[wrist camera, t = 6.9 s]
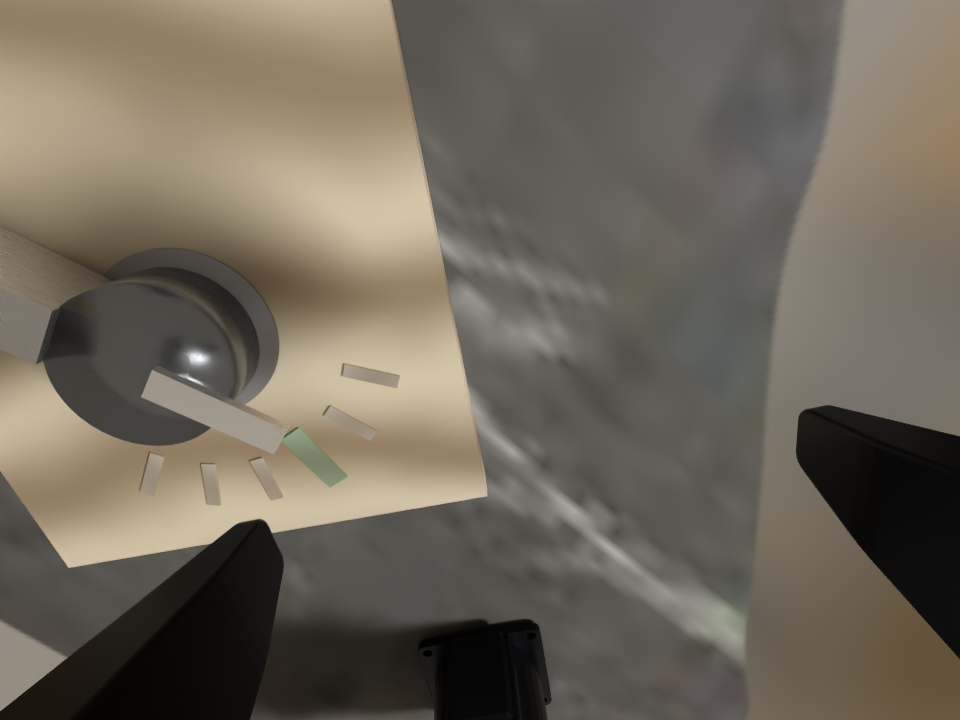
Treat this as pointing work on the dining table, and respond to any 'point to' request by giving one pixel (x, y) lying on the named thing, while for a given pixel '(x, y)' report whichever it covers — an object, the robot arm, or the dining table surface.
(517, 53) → the dining table surface
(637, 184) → the dining table surface
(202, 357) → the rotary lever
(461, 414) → the board
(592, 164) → the dining table surface
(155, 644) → the robot arm
